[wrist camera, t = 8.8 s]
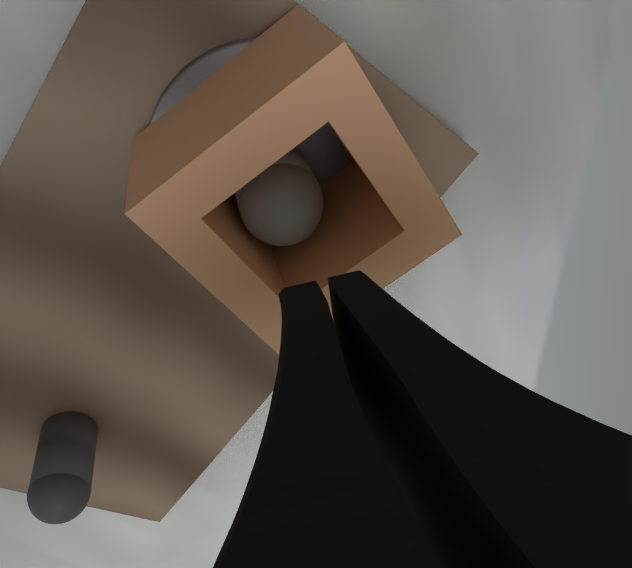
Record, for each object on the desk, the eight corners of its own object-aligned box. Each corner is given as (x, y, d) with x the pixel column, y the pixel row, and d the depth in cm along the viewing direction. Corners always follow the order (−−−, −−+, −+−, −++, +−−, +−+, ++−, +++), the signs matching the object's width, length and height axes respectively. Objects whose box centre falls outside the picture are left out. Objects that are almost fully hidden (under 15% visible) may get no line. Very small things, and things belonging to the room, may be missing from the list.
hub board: (159, 499, 27) (159, 618, 23) (-135, 429, 21) (-213, 572, 17) (462, 140, 20) (549, 212, 15) (148, -119, 14) (143, -124, 9)
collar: (401, 165, 18) (462, 234, 14) (258, 268, 19) (281, 357, 15) (298, 3, 14) (344, 41, 11) (132, 139, 15) (124, 214, 12)
